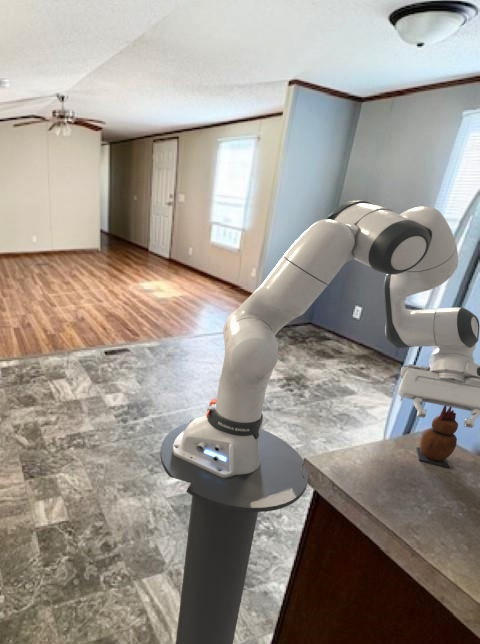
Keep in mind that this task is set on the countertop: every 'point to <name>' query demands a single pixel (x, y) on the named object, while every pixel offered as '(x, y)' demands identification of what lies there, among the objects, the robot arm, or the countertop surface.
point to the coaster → (435, 462)
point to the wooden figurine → (440, 436)
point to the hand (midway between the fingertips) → (444, 421)
